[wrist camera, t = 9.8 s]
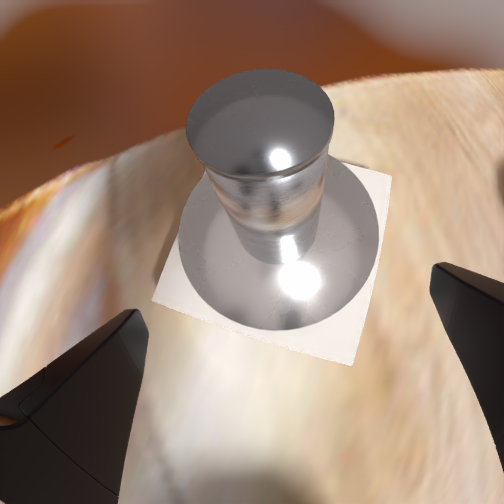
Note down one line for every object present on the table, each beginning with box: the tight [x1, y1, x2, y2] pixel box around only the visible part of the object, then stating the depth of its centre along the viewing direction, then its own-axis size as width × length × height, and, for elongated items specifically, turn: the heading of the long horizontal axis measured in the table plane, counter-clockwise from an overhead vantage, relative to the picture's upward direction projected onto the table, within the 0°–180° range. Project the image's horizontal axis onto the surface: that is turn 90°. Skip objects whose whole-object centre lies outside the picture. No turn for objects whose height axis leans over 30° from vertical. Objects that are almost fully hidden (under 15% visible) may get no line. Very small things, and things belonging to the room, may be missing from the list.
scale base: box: [151, 162, 392, 366], centre depth 22 cm, size 14×14×2 cm
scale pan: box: [178, 155, 379, 331], centre depth 21 cm, size 13×14×4 cm
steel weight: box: [186, 69, 334, 265], centre depth 15 cm, size 5×5×10 cm
